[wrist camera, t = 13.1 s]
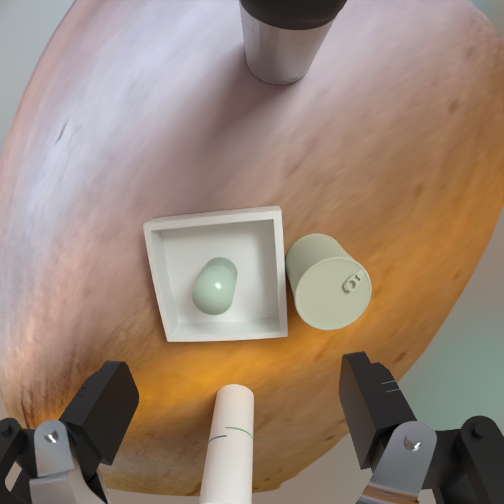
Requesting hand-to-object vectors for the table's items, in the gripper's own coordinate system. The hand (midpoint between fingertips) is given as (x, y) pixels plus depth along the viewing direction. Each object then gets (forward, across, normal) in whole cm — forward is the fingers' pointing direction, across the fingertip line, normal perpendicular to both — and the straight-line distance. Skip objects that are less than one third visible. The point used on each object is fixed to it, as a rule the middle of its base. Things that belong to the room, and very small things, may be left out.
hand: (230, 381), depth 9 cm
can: (+32, -9, +7) cm, 34 cm away
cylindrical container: (+32, +6, +33) cm, 47 cm away
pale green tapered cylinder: (+31, +5, +7) cm, 32 cm away
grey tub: (+32, +5, +7) cm, 33 cm away
